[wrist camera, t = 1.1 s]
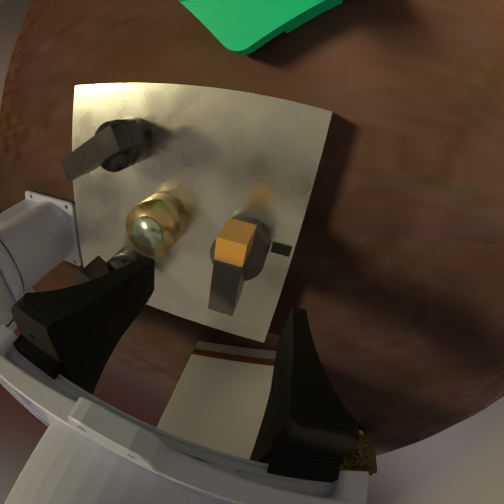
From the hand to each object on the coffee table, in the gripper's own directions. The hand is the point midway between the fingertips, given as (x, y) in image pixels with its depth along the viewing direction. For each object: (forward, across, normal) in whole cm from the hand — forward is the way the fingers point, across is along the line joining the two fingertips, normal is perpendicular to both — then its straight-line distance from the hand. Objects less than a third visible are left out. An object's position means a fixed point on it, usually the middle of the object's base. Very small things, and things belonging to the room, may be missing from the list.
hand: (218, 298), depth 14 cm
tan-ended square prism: (+7, 0, +1) cm, 7 cm away
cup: (+10, -22, +28) cm, 37 cm away
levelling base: (+9, +7, +1) cm, 12 cm away
